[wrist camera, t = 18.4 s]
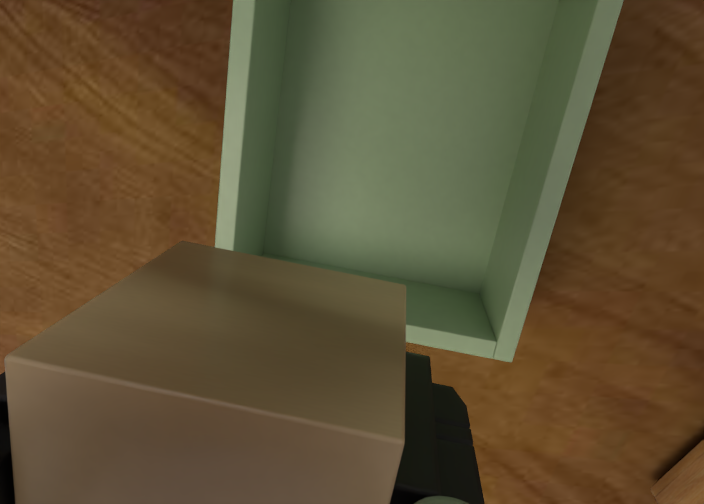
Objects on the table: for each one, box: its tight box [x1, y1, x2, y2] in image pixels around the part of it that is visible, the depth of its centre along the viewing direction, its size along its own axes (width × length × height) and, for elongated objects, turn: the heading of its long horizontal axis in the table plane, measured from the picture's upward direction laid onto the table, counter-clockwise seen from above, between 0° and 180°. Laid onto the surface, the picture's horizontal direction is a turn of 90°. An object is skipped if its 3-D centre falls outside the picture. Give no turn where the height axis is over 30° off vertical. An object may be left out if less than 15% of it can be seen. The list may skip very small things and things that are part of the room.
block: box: [4, 241, 406, 504], centre depth 8 cm, size 4×4×4 cm
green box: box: [215, 0, 624, 362], centre depth 20 cm, size 16×13×6 cm
